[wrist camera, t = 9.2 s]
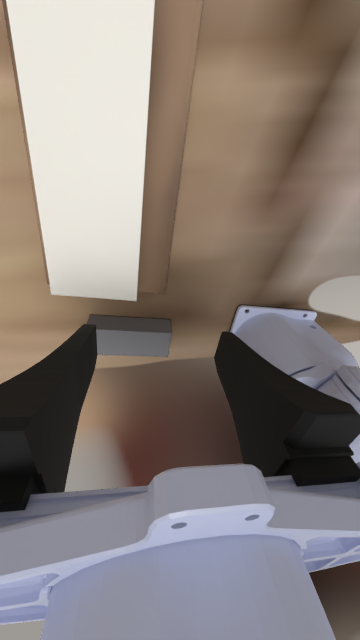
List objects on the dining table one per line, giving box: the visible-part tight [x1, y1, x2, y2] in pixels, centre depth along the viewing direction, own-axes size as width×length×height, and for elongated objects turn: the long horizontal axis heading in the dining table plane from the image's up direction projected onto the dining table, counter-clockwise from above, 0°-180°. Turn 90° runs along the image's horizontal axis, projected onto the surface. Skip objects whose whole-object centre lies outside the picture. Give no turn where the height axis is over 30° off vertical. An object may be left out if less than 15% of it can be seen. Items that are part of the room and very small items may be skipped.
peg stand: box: [2, 0, 203, 294], centre depth 14 cm, size 10×18×5 cm, turn 171°
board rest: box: [87, 315, 172, 357], centre depth 23 cm, size 8×3×2 cm, turn 81°
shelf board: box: [6, 0, 155, 301], centre depth 11 cm, size 14×5×2 cm, turn 171°
